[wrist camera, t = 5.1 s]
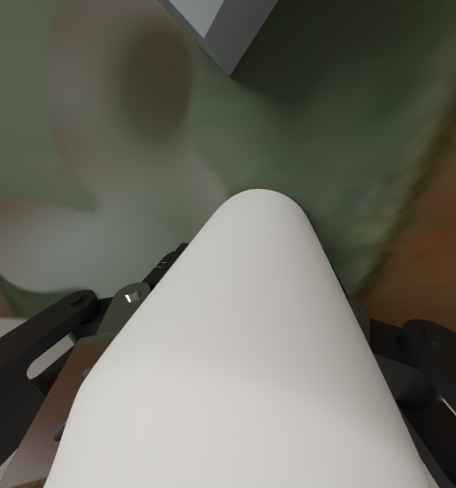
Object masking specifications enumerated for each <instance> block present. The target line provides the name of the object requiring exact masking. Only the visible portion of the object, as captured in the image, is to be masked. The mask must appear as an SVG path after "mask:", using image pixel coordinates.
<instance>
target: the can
mask: <svg viewBox="0 0 456 488" xmlns="http://www.w3.org/2000/svg"><path fill="white" fill-rule="evenodd" d="M43 488H430V483H429V480H428V478H427V475H426V472H425V470H424V467H423V465H422V462H421V459H420V457H419V454H418V452H417V449H416V447H415V445H414V443H413V440H412V438H411V436H410V434H409V431H408V429H407V427H406V425H405V422H404V420H403V418H402V416H401V413H400V411H399V409H398V407H397V405H396V402H395V400H394V398H393V396H392V394H391V392H390V390H389V387H388V385H387V383H386V381H385V379H384V377H383V375H382V372H381V370H380V368H379V366H378V364H377V362H376V360H375V357H374V355H373V353H372V351H371V349H370V347H369V345H368V343H367V341H366V338H365V336H364V334H363V332H362V330H361V328H360V326H359V324H358V322H357V319H356V317H355V315H354V313H353V311H352V309H351V307H350V305H349V303H348V301H347V298H346V296H345V294H344V292H343V290H342V288H341V286H340V284H339V282H338V280H337V278H336V275H335V273H334V271H333V269H332V267H331V265H330V263H329V261H328V259H327V257H326V255H325V253H324V250H323V248H322V246H321V244H320V242H319V240H318V238H317V236H316V234H315V232H314V230H313V228H312V226H311V224H310V222H309V220H308V218H307V216H306V215H305V213H304V212H303V210H302V209H301V208H300V207H299V205H298V204H296V203H295V202H294V201H293V200H292V199H290V198H289V197H287V196H285V195H283V194H281V193H278V192H275V191H271V190H264V189H252V190H247V191H244V192H241V193H239V194H237V195H235V196H233V197H231V198H230V199H229V200H227V201H226V202H225V203H223V204H222V205H221V206H220V207H219V208H218V210H217V211H216V212H215V213H214V214H213V216H212V217H211V218H210V219H209V221H208V222H207V223H206V224H205V225H204V227H203V228H202V229H201V230H200V232H199V233H198V234H197V235H196V237H195V238H194V239H193V240H192V242H191V243H190V244H189V245H188V247H187V248H186V249H185V250H184V252H183V253H182V254H181V255H180V257H179V258H178V259H177V260H176V262H175V263H174V264H173V265H172V267H171V268H170V269H169V270H168V272H167V273H166V274H165V275H164V277H163V278H162V279H161V280H160V282H159V283H158V284H157V285H156V287H155V288H154V289H153V290H152V292H151V293H150V294H149V295H148V297H147V298H146V299H145V300H144V302H143V303H142V304H141V306H140V307H139V308H138V309H137V311H136V312H135V313H134V314H133V316H132V317H131V318H130V320H129V321H128V322H127V323H126V325H125V326H124V327H123V328H122V330H121V331H120V332H119V334H118V335H117V336H116V337H115V339H114V340H113V341H112V343H111V344H110V345H109V347H108V348H107V349H106V351H105V352H104V353H103V355H102V356H101V357H100V359H99V360H98V361H97V362H96V364H95V365H94V366H93V368H92V370H91V371H90V373H89V374H88V376H87V377H86V379H85V380H84V382H83V383H82V385H81V386H80V389H79V391H78V393H77V395H76V398H75V400H74V403H73V406H72V408H71V411H70V414H69V417H68V420H67V423H66V426H65V429H64V432H63V435H62V438H61V441H60V444H59V447H58V450H57V454H56V457H55V459H54V462H53V465H52V468H51V471H50V473H49V476H48V478H47V481H46V483H45V485H44V487H43Z"/></svg>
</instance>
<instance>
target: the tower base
mask: <svg viewBox="0 0 456 488" xmlns="http://www.w3.org/2000/svg"><path fill="white" fill-rule="evenodd" d="M159 2H160V3H161V4H162V5H163V6H164V7H165V8H166V9H167V10H168V11H169V12H170V14H171V15H172V16H173V17H174V18H175V19H176V20H177V21H178V22H179V23H180V24H181V26H182V27H183V28H184V29H185V30H186V31H187V32H188V33H189V34H190V35H191V36H192V38H193V39H194V40H195V41H196V42H197V43H198V44H199V45H200V46H201V47H202V48H203V50H204V51H205V52H206V53H207V54H208V55H209V56H210V57H211V58H212V59H213V60H214V61H215V63H216V64H217V65H218V66H219V67H220V68H221V69H222V70H223V71H224V72H225V73H226V75H227V76H228V77H230V75H231V73H232V72H233V70H234V69H235V67H236V66H237V64H238V63H239V61H240V59H241V58H242V56H243V55H244V53H245V52H246V50H247V48H248V47H249V45H250V44H251V42H252V41H253V39H254V38H255V36H256V34H257V33H258V31H259V30H260V28H261V27H262V25H263V24H264V22H265V20H266V19H267V17H268V16H269V14H270V13H271V11H272V10H273V8H274V6H275V5H276V3H277V2H278V0H159Z"/></svg>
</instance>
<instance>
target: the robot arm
mask: <svg viewBox="0 0 456 488" xmlns="http://www.w3.org/2000/svg"><path fill="white" fill-rule="evenodd" d="M189 244H190V243H182V244H181V245H180V246H179V247H178V248H177V249H176V251H173V252H171V253H169V254H168V255H166V256H165V257H164V258H163V259H162V260H161V261H160V263H158V264H157V266H156V267H155V268H154V269H153V270H152V271H151V273H149V274H148V276H147V277H146V278H145V279H144V280H143V281H142V282H140V283H139V282H138V283H133V284H130V285H128V286H125V287H123V288H122V289H120V290H119V291H118V292H117V293H116V294H115V296H114V297H110V298H104V299H97V297H96V295H95V293H94V291H92V290H82V291H78V292H75V293H72V294H70V295H68V296H66V297H64V298H63V299H61V300H60V301H58V302H56V303H55V304H53V305H52V306H50V307H48V308H47V309H45V310H44V311H42V312H40V313H39V314H37V315H36V316H34V317H32V318H31V319H29V320H28V321H26V322H24V323H23V324H21V325H20V326H18V327H16V328H15V329H13V330H12V331H10V332H8V333H7V334H6V335H4V336H2V337H0V466H1V464H3V463H4V462H5V461H6V460H7V459H8V458H9V457H10V456H11V455H12V453H13V452H14V451H15V450H16V449H17V448H18V449H17V451H16V453H15V455H14V456H13V458H12V460H11V462H10V464H9V465H8V467H7V469H6V471H5V472H4V474H3V476H2V478H1V480H0V488H43V487H44V485H45V483H46V481H47V478H48V476H49V473H50V471H51V468H52V465H53V462H54V459H55V457H56V454H57V450H58V447H59V444H60V441H61V438H62V435H63V432H64V429H65V426H66V423H67V420H68V417H69V414H70V411H71V408H72V406H73V403H74V400H75V398H76V395H77V393H78V391H79V389H80V386H81V385H82V383H83V382H84V380H85V379H86V377H87V376H88V374H89V373H90V371H91V370H92V368H93V366H94V365H95V364H96V362H97V361H98V360H99V359H100V357H101V356H102V355H103V353H104V352H105V351H106V349H107V348H108V347H109V345H110V344H111V343H112V341H113V340H114V339H115V337H116V336H117V335H118V334H119V332H120V331H121V330H122V328H123V327H124V326H125V325H126V323H127V322H128V321H129V320H130V318H131V317H132V316H133V314H134V313H135V312H136V311H137V309H138V308H139V307H140V306H141V304H142V303H143V302H144V300H145V299H146V298H147V297H148V295H149V294H150V293H151V292H152V290H153V289H154V288H155V287H156V285H157V284H158V283H159V282H160V280H161V279H162V278H163V277H164V275H165V274H166V273H167V272H168V270H169V269H170V268H171V267H172V265H173V264H174V263H175V262H176V260H177V259H178V258H179V257H180V255H181V254H182V253H183V252H184V250H185V249H186V248H187V247H188V245H189ZM329 263H330V262H329ZM330 265H331V267H332V269H333V271H334V273H335V275H336V278H337V280H338V282H339V284H340V286H341V288H342V290H343V292H344V294H345V296H346V298H347V301H348V303H349V305H350V307H351V309H352V311H353V313H354V315H355V317H356V319H357V322H358V324H359V326H360V328H361V330H362V332H363V334H364V336H365V338H366V341H367V343H368V345H369V347H370V349H371V351H372V353H373V355H374V357H375V360H376V362H377V364H378V366H379V368H380V370H381V372H382V375H383V377H384V379H385V381H386V383H387V385H388V387H389V390H390V392H391V394H392V396H393V398H394V400H395V402H396V405H397V407H398V409H399V411H400V413H401V416H402V418H403V420H404V422H405V425H406V427H407V429H408V431H409V434H410V436H411V438H412V440H413V443H414V445H415V447H416V449H417V452H418V454H419V456H420V458H421V459H422V461H423V463H424V464H425V465H426V467H427V469H428V470H429V472H430V474H431V475H432V477H433V478H434V480H435V482H436V483H437V485H438V486H439V488H456V416H455V415H454V413H453V412H452V411H451V410H450V409H449V408H448V406H447V405H446V404H445V403H444V402H443V401H442V399H443V398H444V399H445V400H446V402H447V403H448V404H449V405H450V406H451V407H452V408H453V410H454V411H455V412H456V333H454V332H453V331H451V330H449V329H447V328H445V327H443V326H441V325H439V324H436V323H433V322H430V321H426V320H419V319H413V320H409V321H407V322H406V323H405V324H404V326H403V328H399V327H396V326H393V325H389V324H386V323H383V322H380V321H377V320H374V319H372V318H370V317H369V315H368V313H367V312H366V310H365V309H364V308H363V307H362V306H360V305H359V304H357V303H356V302H354V301H352V300H350V299H349V297H348V295H347V294H346V292H345V290H344V288H343V286H342V284H341V282H340V280H339V278H338V276H337V274H336V272H335V270H334V268H333V266H332V264H331V263H330ZM66 335H69V337H70V339H71V340H72V342H73V343H74V346H73V347H71V348H70V349H69V350H68V351H67V352H66V353H64V354H63V355H62V356H61V357H60V358H58V359H57V360H56V361H55V362H54V363H52V364H51V365H50V366H49V367H48V368H47V369H45V370H44V371H43V372H42V373H41V374H39V375H38V376H37V377H35V378H33V379H31V380H30V379H29V378H28V377H27V370H28V368H29V366H30V365H31V363H32V362H33V361H34V360H35V359H37V358H38V357H39V356H41V355H42V354H43V353H44V352H46V351H47V350H48V349H50V348H51V347H52V346H53V345H55V344H56V343H57V342H58V341H60V340H61V339H62V338H64V337H65V336H66Z"/></svg>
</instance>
